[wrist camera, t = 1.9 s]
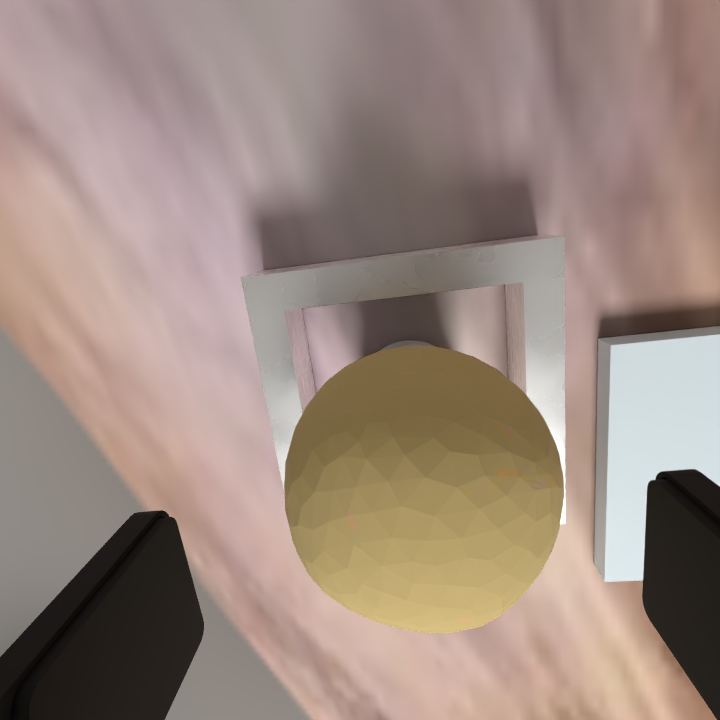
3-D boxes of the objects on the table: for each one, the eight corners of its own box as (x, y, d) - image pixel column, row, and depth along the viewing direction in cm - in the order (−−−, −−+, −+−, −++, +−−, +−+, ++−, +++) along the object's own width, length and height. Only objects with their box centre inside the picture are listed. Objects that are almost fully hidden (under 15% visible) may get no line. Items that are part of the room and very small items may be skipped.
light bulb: (464, 472, 18) (539, 741, 9) (313, 434, 18) (223, 659, 9) (517, 324, 16) (685, 461, 7) (348, 282, 16) (282, 358, 7)
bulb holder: (538, 234, 15) (564, 236, 13) (542, 484, 18) (565, 523, 16) (263, 270, 16) (240, 277, 14) (306, 500, 19) (293, 539, 17)
